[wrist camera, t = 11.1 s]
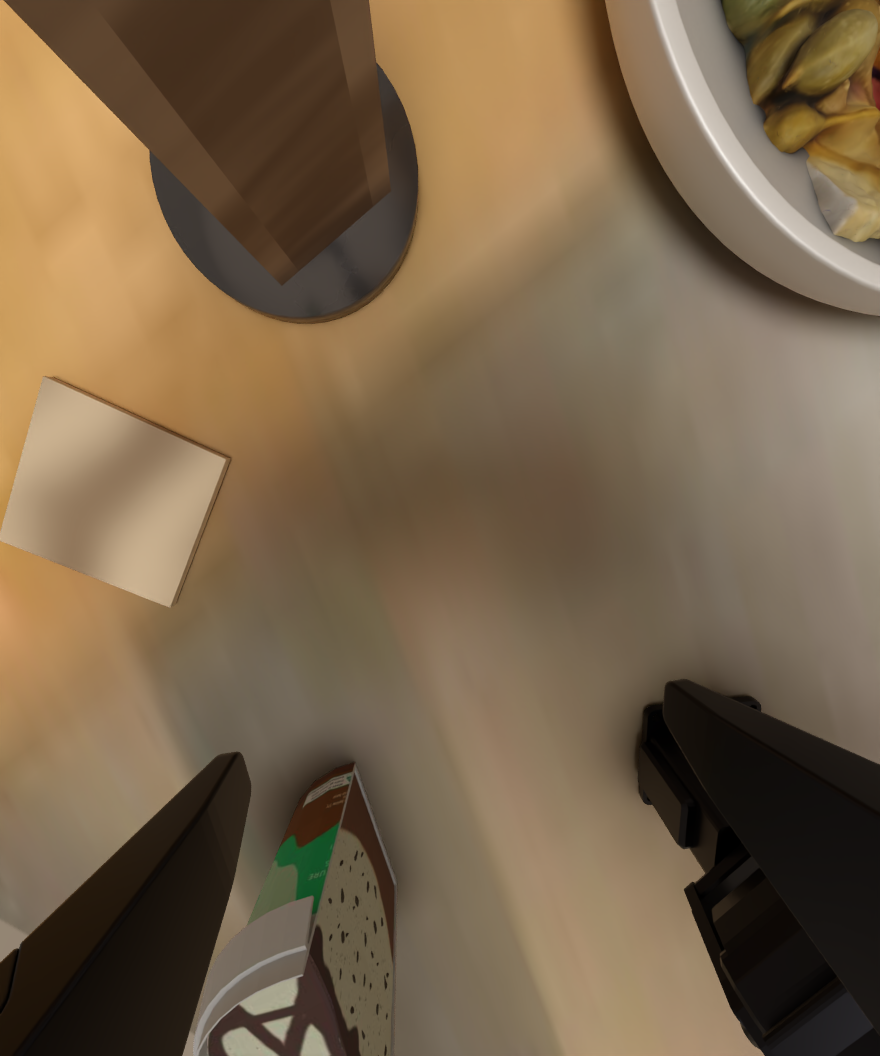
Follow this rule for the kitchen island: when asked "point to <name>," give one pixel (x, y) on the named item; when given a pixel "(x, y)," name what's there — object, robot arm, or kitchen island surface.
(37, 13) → the collar
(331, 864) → the food container
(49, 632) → the kitchen island surface
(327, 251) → the hub
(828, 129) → the bowl
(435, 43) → the kitchen island surface
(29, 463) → the cork pad
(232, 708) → the kitchen island surface
